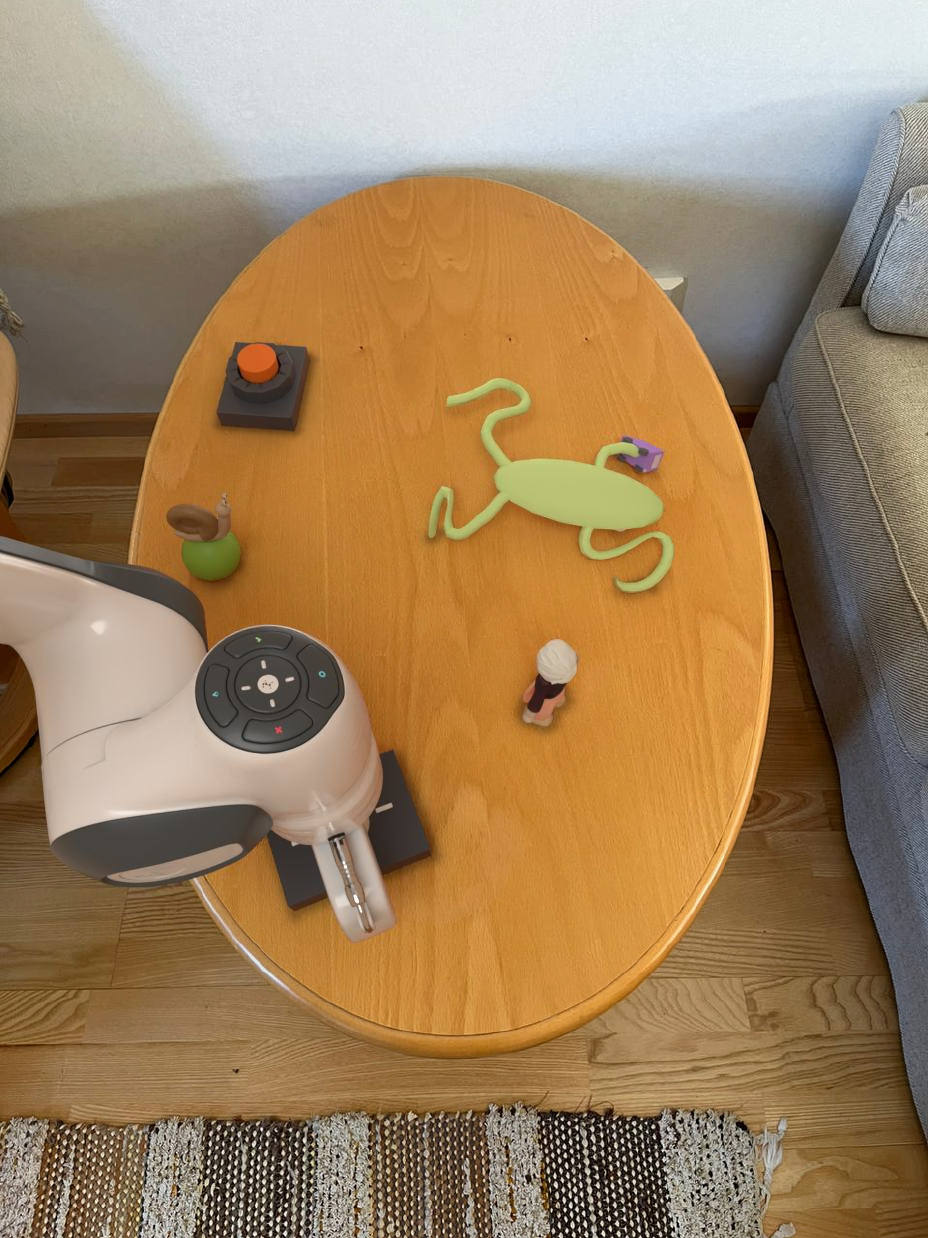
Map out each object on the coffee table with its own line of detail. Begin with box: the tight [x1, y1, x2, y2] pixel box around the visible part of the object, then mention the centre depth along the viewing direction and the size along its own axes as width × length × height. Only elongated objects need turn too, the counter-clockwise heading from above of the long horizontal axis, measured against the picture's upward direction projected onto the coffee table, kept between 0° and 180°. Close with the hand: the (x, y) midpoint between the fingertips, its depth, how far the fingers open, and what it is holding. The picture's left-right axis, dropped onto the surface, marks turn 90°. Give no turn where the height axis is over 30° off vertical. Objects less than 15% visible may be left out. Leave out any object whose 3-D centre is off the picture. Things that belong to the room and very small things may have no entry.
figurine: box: [427, 377, 675, 594], centre depth 84 cm, size 18×27×6 cm
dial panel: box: [266, 749, 432, 912], centre depth 70 cm, size 12×9×3 cm
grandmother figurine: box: [521, 638, 580, 728], centre depth 71 cm, size 8×4×13 cm, turn 155°
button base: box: [216, 341, 310, 432], centre depth 91 cm, size 10×8×4 cm
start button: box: [237, 344, 278, 384], centre depth 88 cm, size 4×4×2 cm
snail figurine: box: [165, 492, 242, 582], centre depth 77 cm, size 5×6×12 cm
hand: (339, 820), depth 68 cm, fingers open, 8 cm apart
